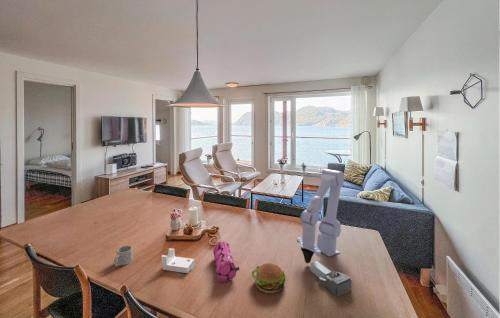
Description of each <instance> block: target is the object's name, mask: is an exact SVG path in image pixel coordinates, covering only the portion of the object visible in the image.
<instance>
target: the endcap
mask: <svg viewBox="0 0 500 318" xmlns="http://www.w3.org/2000/svg"><path fill="white" fill-rule="evenodd" d="M332 276H333V278H332V277H331V278H330V277H329V276H326V279H324V278H321V277H318V284H319V285H321V286H323V287H325V288H326V289H327V290H329V291H330V292H331V293H333V294H334V295H335V296H336V297H337V298H338V297H341V296H343V295H345V294H347V293H350V292H351V291H352V282H353V281H352V278H351V277H350V276H348V275H347V274H345V273H342V272H340V271H335V270H334V271H333V274H332Z"/></svg>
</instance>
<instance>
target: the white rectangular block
mask: <svg viewBox="0 0 500 318" xmlns="http://www.w3.org/2000/svg"><path fill="white" fill-rule="evenodd" d="M310 271H311V273H313V274H314V275H315V276H316V277H318V278H319V277H321V278H324V279H326V276H329V277H330V278H332V276H333V274H332V271H331V270H330V269H328V268H327V267H326V266H325V265H323V264H322V263H320V262H319V261H313V262H310Z"/></svg>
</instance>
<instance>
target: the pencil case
mask: <svg viewBox="0 0 500 318" xmlns="http://www.w3.org/2000/svg"><path fill="white" fill-rule="evenodd" d="M213 256H214V259H213V260H214V263H215V273H216V277H217V279H218V281H219V282H221V283H226V282H229V281H231V280H233V279H234V278H235V276H236V274H237V272H238V271H240V267H239V266H237V267H236V265H235V263H234V259H233V258H234V257H233V256H232V254H231V249H230V244H229V243H228V242H227V241H224V240H223V241H220V242H218V243H216V244H215V245H214V248H213Z"/></svg>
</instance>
